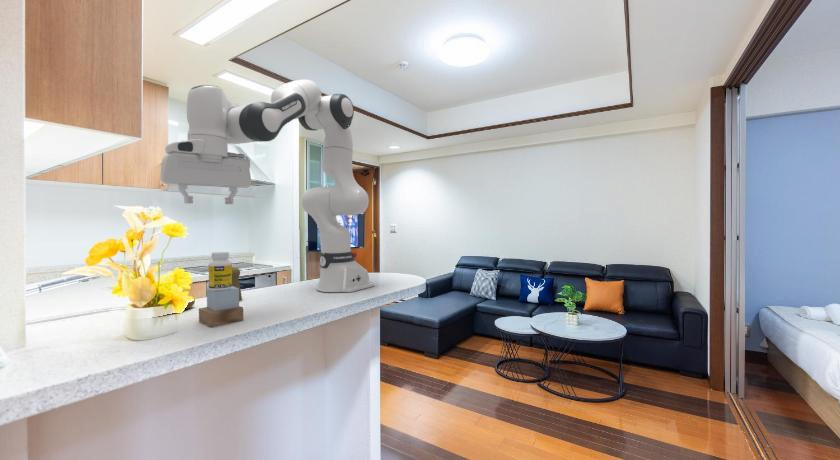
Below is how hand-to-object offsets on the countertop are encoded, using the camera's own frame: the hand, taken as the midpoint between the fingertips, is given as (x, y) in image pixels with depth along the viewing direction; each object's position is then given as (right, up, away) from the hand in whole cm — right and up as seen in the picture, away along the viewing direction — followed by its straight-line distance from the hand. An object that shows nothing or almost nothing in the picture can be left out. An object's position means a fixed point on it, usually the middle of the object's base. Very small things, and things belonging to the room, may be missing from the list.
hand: (209, 203), depth 92 cm
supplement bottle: (+1, -23, +3) cm, 23 cm away
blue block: (+1, -27, +4) cm, 28 cm away
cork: (-8, -30, +26) cm, 41 cm away
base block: (+1, -32, +3) cm, 32 cm away
